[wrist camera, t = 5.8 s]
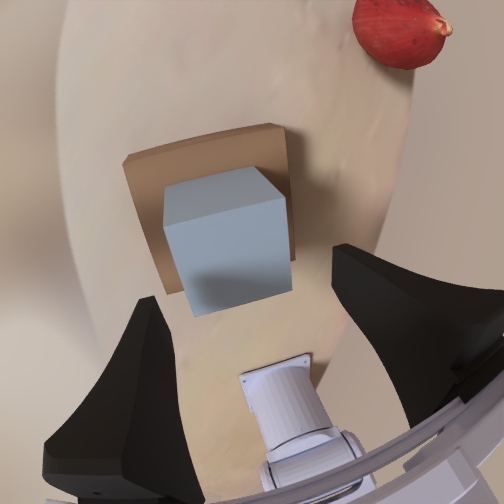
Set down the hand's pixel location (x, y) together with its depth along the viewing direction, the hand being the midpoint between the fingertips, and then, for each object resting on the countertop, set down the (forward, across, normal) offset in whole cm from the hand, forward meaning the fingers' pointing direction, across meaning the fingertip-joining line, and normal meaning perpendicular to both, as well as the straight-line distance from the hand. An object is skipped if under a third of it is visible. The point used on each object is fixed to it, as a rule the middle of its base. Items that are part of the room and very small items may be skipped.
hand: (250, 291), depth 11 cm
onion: (+10, -12, -11) cm, 19 cm away
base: (+10, 0, 0) cm, 10 cm away
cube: (+7, 0, 0) cm, 7 cm away
